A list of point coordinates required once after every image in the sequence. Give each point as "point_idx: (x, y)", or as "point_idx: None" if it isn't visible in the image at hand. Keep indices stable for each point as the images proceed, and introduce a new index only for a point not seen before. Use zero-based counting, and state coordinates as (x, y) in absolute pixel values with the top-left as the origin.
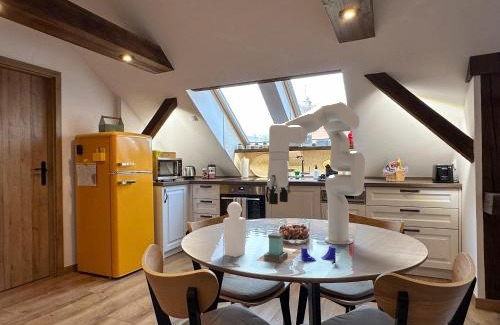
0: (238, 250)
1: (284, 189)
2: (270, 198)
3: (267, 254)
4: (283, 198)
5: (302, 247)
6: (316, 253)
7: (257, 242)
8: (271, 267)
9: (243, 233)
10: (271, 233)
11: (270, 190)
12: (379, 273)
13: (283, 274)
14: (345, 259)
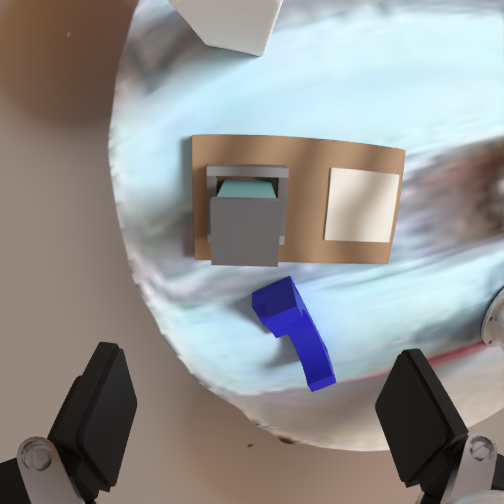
0: (217, 39)
1: (442, 488)
2: (66, 397)
3: (211, 180)
4: (396, 408)
5: (282, 313)
6: (398, 293)
7: (474, 56)
8: (186, 201)
9: (250, 26)
10: (257, 203)
11: (11, 470)
12: (262, 426)
13: (143, 259)
14: (351, 369)
